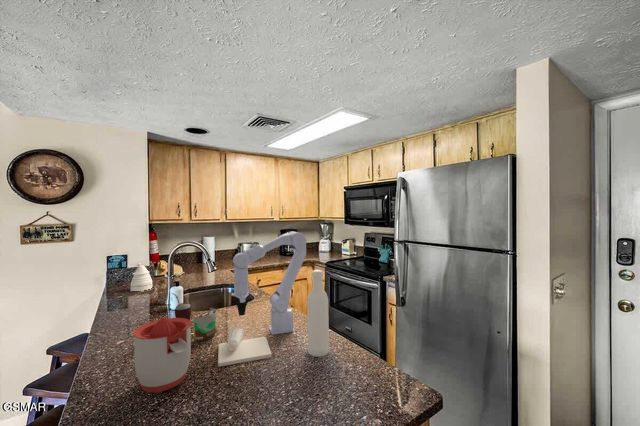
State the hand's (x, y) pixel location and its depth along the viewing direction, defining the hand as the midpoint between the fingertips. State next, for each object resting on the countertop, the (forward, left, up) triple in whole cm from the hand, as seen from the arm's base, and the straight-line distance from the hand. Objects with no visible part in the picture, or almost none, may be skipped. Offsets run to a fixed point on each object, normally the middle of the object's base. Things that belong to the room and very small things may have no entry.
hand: (241, 314), depth 117 cm
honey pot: (+61, -103, -10) cm, 120 cm away
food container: (+13, -6, -10) cm, 17 cm away
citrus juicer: (+24, +25, -10) cm, 36 cm away
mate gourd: (+26, -28, -10) cm, 40 cm away
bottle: (-26, +23, -10) cm, 36 cm away
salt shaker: (+2, +4, -6) cm, 7 cm away
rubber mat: (0, +13, -9) cm, 16 cm away
